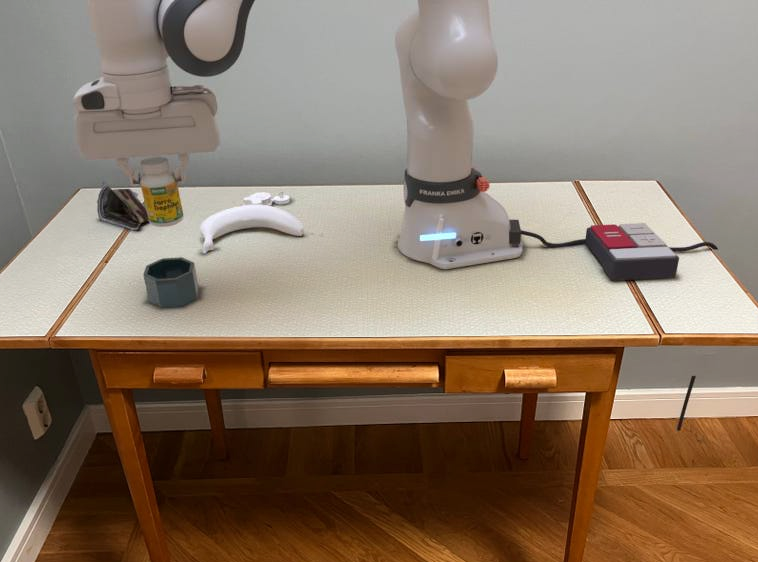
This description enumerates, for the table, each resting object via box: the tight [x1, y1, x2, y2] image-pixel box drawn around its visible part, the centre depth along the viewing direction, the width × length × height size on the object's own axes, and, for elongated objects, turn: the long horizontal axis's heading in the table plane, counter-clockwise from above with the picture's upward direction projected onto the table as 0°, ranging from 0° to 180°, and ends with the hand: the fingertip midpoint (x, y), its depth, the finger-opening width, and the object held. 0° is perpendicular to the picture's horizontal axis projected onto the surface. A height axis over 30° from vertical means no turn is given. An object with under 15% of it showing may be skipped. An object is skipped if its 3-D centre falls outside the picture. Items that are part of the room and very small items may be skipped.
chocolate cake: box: [96, 181, 149, 231], centre depth 149 cm, size 10×7×12 cm
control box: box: [584, 222, 680, 281], centre depth 129 cm, size 11×4×15 cm
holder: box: [143, 256, 200, 309], centre depth 122 cm, size 8×8×5 cm
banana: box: [199, 205, 304, 254], centre depth 139 cm, size 5×19×15 cm
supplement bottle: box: [140, 156, 185, 228], centre depth 113 cm, size 5×5×10 cm
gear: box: [233, 191, 291, 206], centre depth 153 cm, size 9×9×2 cm
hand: (158, 183), depth 112 cm, fingers closed on supplement bottle, 5 cm apart
